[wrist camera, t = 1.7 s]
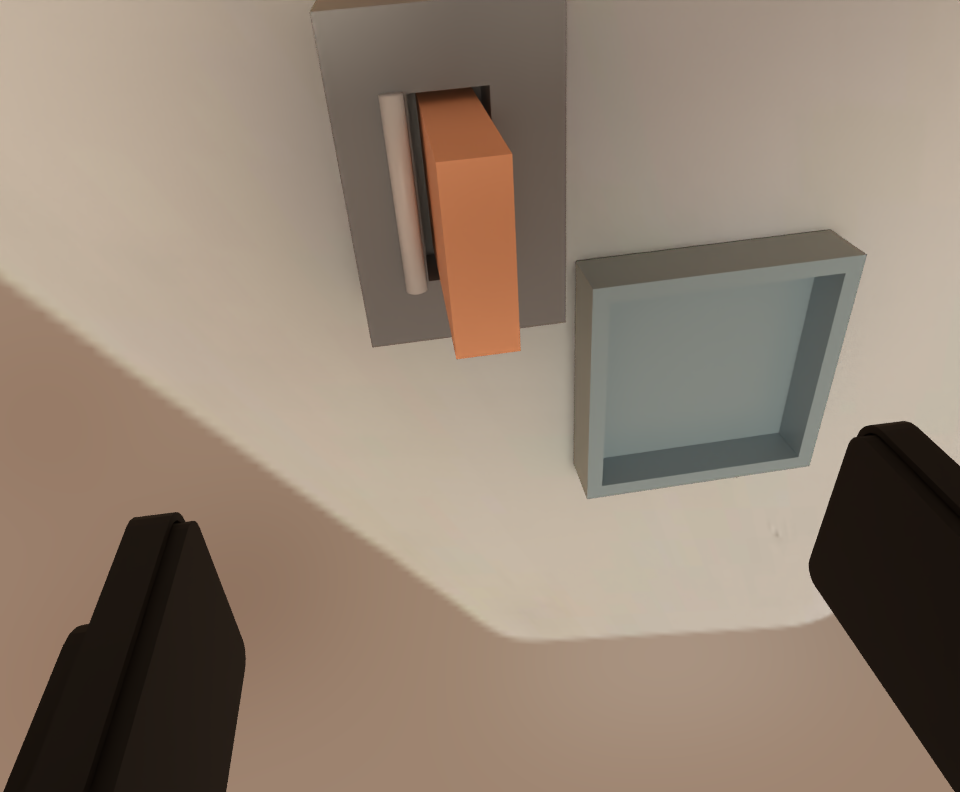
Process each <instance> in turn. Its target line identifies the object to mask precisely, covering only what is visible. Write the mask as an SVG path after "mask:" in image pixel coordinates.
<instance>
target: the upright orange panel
mask: <svg viewBox="0 0 960 792" xmlns="http://www.w3.org/2000/svg"><path fill="white" fill-rule="evenodd" d="M415 95H416V104H417V113H418V121H419V130H420V138H421V147H422V156H423V164H424V173H425V182H426V190H427V199H428V208H429V216H430V225H431V234H432V242H433V248H434V253H435V258H436V263H437V268H438V272H439V277H440V282H441V287H442V292H443V297H444V301H445V306H446V311H447V316H448V321H449V326H450V330H451V335H452V340H453V345H454V350H455V354H456V359H462V358H470V357H477V356H485V355H492V354H500V353H507V352H515V351H521V350H520V326H519V302H518V278H517V254H516V230H515V206H514V182H513V158H512V153H511V151H510V149H509V148H508V146H507V144H506V143H505V141H504V140H503V138H502V136H501V135H500V133H499V131H498V130H497V128H496V127H495V125H494V123H493V122H492V120H491V118H490V117H489V115H488V114H487V112H486V110H485V109H484V107H483V105H482V104H481V102H480V101H479V99H478V97H477V96H476V94H475V92H474V91H473V89H472V87H467V88H457V89H447V90H438V91H428V92H419V93H415Z"/></svg>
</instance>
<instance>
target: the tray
mask: <svg viewBox="0 0 960 792" xmlns="http://www.w3.org/2000/svg"><path fill="white" fill-rule="evenodd" d="M866 256H867V254H865V253H864V252H863V251H861V250H860V249H858V248H857V247H855V246H854V245H852V244H851V243H849V242H848V241H846V240H845V239H843V238H842V237H840V236H839V235H838V234H836V233H835V232H833V231H832V230H824V231H816V232H808V233H800V234H791V235H783V236H775V237H767V238H759V239H751V240H743V241H735V242H727V243H719V244H711V245H703V246H695V247H686V248H678V249H670V250H662V251H654V252H646V253H638V254H630V255H622V256H614V257H606V258H598V259H589V260H581V261H576V297H575V383H574V466H575V468H576V471H577V474H578V476H579V479H580V482H581V484H582V487H583V490H584V492H585V495H586V497H587V499H592V498H598V497H605V496H612V495H619V494H625V493H632V492H639V491H645V490H652V489H659V488H666V487H672V486H679V485H686V484H692V483H699V482H706V481H713V480H719V479H726V478H733V477H739V476H746V475H753V474H760V473H766V472H773V471H780V470H786V469H793V468H800V467H807V466H809V465H810V462H811V458H812V454H813V451H814V447H815V443H816V440H817V436H818V432H819V429H820V425H821V421H822V418H823V414H824V410H825V407H826V403H827V399H828V396H829V392H830V388H831V385H832V381H833V377H834V374H835V370H836V366H837V363H838V359H839V355H840V352H841V348H842V344H843V341H844V337H845V333H846V330H847V326H848V322H849V319H850V315H851V311H852V308H853V304H854V300H855V296H856V293H857V289H858V285H859V282H860V278H861V274H862V271H863V267H864V263H865V260H866Z"/></svg>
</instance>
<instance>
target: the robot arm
mask: <svg viewBox="0 0 960 792" xmlns="http://www.w3.org/2000/svg"><path fill="white" fill-rule="evenodd" d="M809 572H810V576H811V579H812V581H813V583H814V585H815V587H816V588H817V590H818V591H819V593H820V594H821V596H822V597H823V598H824V600H825V601H826V603H827V604H828V606H829V607H830V609H831V610H832V612H833V613H834V615H835V616H836V618H837V619H838V621H839V622H840V623H841V625H842V626H843V628H844V629H845V631H846V632H847V634H848V635H849V637H850V638H851V640H852V641H853V643H854V644H855V646H856V647H857V649H858V650H859V652H860V653H861V654H862V656H863V657H864V659H865V660H866V662H867V663H868V665H869V666H870V668H871V669H872V671H873V672H874V673H875V675H876V676H877V678H878V680H879V681H880V682H881V684H882V685H883V687H884V688H885V689H886V691H887V692H888V694H889V696H890V697H891V698H892V700H893V702H894V703H895V705H896V706H897V708H898V709H899V710H900V712H901V713H902V715H903V716H904V718H905V719H906V721H907V722H908V724H909V725H910V727H911V728H912V729H913V731H914V732H915V734H916V736H917V737H918V739H919V740H920V741H921V743H922V744H923V746H924V747H925V749H926V750H927V752H928V753H929V755H930V756H931V758H932V759H933V760H934V762H935V764H936V765H937V767H938V768H939V769H940V771H941V772H942V774H943V775H944V777H945V778H946V780H947V781H948V783H949V784H950V786H951V787H952V789H953V790H954V791H955V792H960V466H959V465H958V464H957V463H956V462H955V461H954V460H953V459H952V458H950V457H949V456H948V455H947V454H946V453H945V452H944V451H943V450H942V449H941V448H940V447H938V446H937V445H936V444H935V443H934V442H933V441H932V440H931V439H930V438H929V437H928V436H926V435H925V434H924V433H923V432H922V431H921V430H920V429H919V428H918V427H917V426H915V425H914V424H912V423H910V422H906V421H901V422H893V423H885V424H877V425H869V426H865V427H864V428H862V429H861V430H860V432H859V433H858V435H857V437H855V438H853V439H852V440H851V441H850V443H849V444H848V447H847V450H846V453H845V456H844V459H843V462H842V465H841V468H840V471H839V474H838V477H837V480H836V483H835V486H834V489H833V492H832V495H831V498H830V501H829V503H828V506H827V509H826V512H825V515H824V518H823V521H822V524H821V527H820V530H819V533H818V536H817V539H816V542H815V545H814V548H813V551H812V554H811V557H810V560H809ZM245 660H246V658H245V647H244V643H243V639H242V637H241V635H240V632H239V629H238V626H237V624H236V621H235V619H234V616H233V613H232V611H231V608H230V606H229V603H228V600H227V598H226V595H225V593H224V590H223V587H222V585H221V582H220V579H219V577H218V574H217V572H216V569H215V567H214V564H213V561H212V559H211V556H210V553H209V551H208V548H207V546H206V543H205V540H204V538H203V535H202V533H201V530H200V528H199V526H198V524H197V523H196V522H195V521H190V522H185V520H184V519H183V517H182V515H181V514H180V513H178V512H175V513H167V514H158V515H151V516H143V517H134V518H133V519H131V520H130V521H129V523H128V525H127V527H126V529H125V532H124V535H123V537H122V540H121V543H120V545H119V548H118V550H117V553H116V555H115V558H114V561H113V563H112V566H111V569H110V571H109V574H108V576H107V579H106V582H105V584H104V587H103V590H102V592H101V595H100V597H99V600H98V602H97V605H96V608H95V610H94V613H93V616H92V618H91V621H90V623H89V624H86V625H81V626H78V627H76V628H75V629H74V630H73V631H72V632H71V633H70V634H69V636H68V638H67V640H66V642H65V644H64V645H63V647H62V650H61V652H60V654H59V657H58V659H57V662H56V664H55V667H54V669H53V672H52V674H51V676H50V679H49V681H48V684H47V686H46V689H45V691H44V694H43V696H42V698H41V701H40V703H39V706H38V708H37V711H36V713H35V716H34V718H33V721H32V723H31V725H30V728H29V730H28V733H27V735H26V738H25V740H24V742H23V745H22V747H21V750H20V752H19V755H18V757H17V760H16V762H15V764H14V767H13V769H12V772H11V774H10V777H9V779H8V782H7V784H6V787H5V789H4V792H226V788H227V782H228V775H229V768H230V762H231V756H232V750H233V743H234V736H235V730H236V724H237V717H238V711H239V704H240V698H241V691H242V685H243V678H244V672H245Z"/></svg>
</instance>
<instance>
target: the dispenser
mask: <svg viewBox="0 0 960 792" xmlns="http://www.w3.org/2000/svg"><path fill="white" fill-rule="evenodd" d="M310 16H311V21H312V26H313V32H314V37H315V42H316V48H317V53H318V58H319V64H320V69H321V75H322V80H323V85H324V91H325V96H326V101H327V107H328V112H329V117H330V123H331V128H332V134H333V139H334V144H335V150H336V155H337V160H338V166H339V171H340V177H341V182H342V187H343V193H344V198H345V203H346V209H347V214H348V219H349V225H350V230H351V236H352V241H353V246H354V252H355V257H356V262H357V268H358V273H359V278H360V284H361V289H362V295H363V300H364V305H365V311H366V316H367V321H368V327H369V332H370V338H371V343H372V347H379V346H387V345H395V344H402V343H410V342H418V341H426V340H433V339H441V338H449V337H452V335H451V330H450V326H449V321H448V316H447V311H446V306H445V301H444V297H443V292H442V287H441V282H440V277H439V272H438V268H437V263H436V258H435V253H434V248H433V242H432V234H431V225H430V216H429V208H428V199H427V190H426V182H425V173H424V164H423V156H422V147H421V138H420V130H419V121H418V113H417V104H416V95H415V93H419V92H428V91H438V90H447V89H457V88H467V87H472V89H473V91H474V92H475V94H476V96H477V97H478V99H479V101H480V102H481V104H482V105H483V107H484V109H485V110H486V112H487V114H488V115H489V117H490V118H491V120H492V122H493V123H494V125H495V127H496V128H497V130H498V131H499V133H500V135H501V136H502V138H503V140H504V141H505V143H506V144H507V146H508V148H509V149H510V151H511V153H512V158H513V182H514V206H515V230H516V254H517V278H518V302H519V326H520V328H525V327H533V326H541V325H549V324H556V323H564V322H566V0H316V2H315V3H314V5H313V7H312V9H311V11H310Z"/></svg>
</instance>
